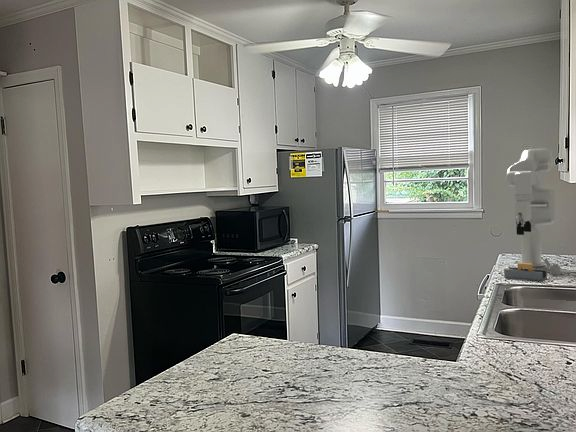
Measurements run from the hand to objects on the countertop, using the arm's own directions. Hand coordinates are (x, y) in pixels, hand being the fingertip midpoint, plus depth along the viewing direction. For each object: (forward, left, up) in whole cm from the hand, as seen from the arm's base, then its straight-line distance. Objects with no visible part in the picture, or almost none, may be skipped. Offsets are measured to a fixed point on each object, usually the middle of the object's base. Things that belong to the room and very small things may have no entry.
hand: (524, 233), depth 233 cm
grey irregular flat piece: (-11, +9, -21) cm, 26 cm away
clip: (+3, +1, -20) cm, 20 cm away
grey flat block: (+3, +1, -21) cm, 21 cm away
